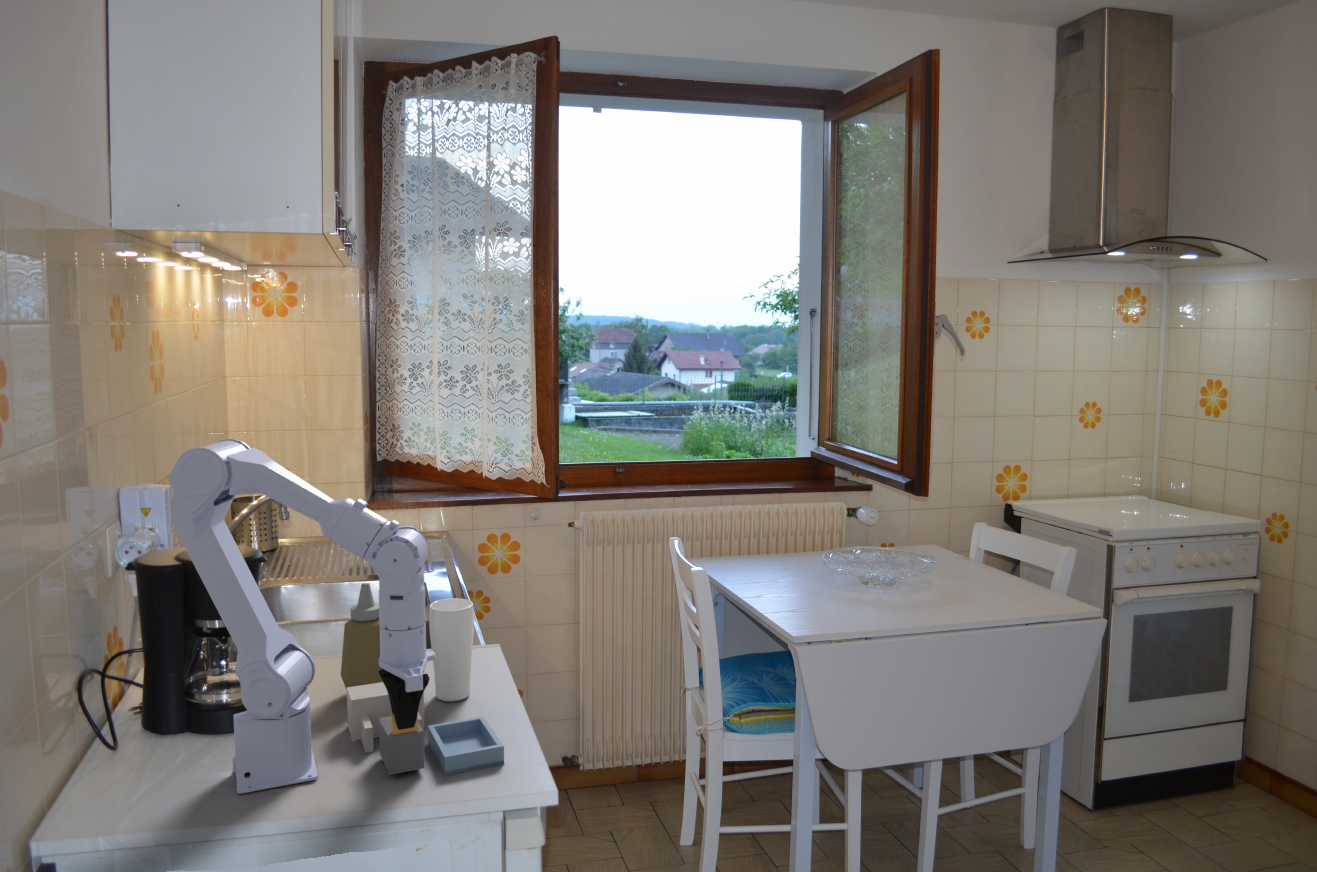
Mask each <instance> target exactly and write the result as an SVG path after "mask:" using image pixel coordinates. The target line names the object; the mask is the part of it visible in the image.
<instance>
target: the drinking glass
mask: <svg viewBox="0 0 1317 872" xmlns="http://www.w3.org/2000/svg"><path fill="white" fill-rule="evenodd" d="M474 613H475V612H474V603H473V601H471V600H469V599H466V598H458V597H456V598H454V597H451V598H449V597H448V598H443V599H438V600H436V601H433V602H431V603H430V604H429V614H428V615H429V617H428V618H429V622H428V623H429V636H430V637H429V638H430V647H431V651H434V653H435V654H436V659H435V660H432V666H433V675H434V688H435V689H434V692H435V694H434V695H435V696H436V698H437V699H438V700H440V701H442V702H445V703H446V702H448V703H449V702H450V703H452V702H453V701H455V702H460V701H462V700H463V701H464V699H466V698H468V697H469V695H470V693H471V673H472V671H471V668H472V658H473V647H474V645H473V644H474V632H475V631H474V627H475V616H474ZM453 703H454V702H453Z"/></svg>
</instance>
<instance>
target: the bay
mask: <svg viewBox="0 0 1317 872" xmlns="http://www.w3.org/2000/svg"><path fill="white" fill-rule="evenodd" d="M424 692H425V691H424ZM424 692H423V695H422V697H421V700H420V704H419V709H418V722H419V724H420V726H421V727H422V729H423V730H424V729H425V697H424V696H425V695H424V694H425V693H424ZM391 713H392V709H391V704H390V700H389V696H388V692H387V689H386V687H385V685H384V683H383V682H380V683H374V684H367V685H360V686H354V687H347V690H346V714H347V718H346V719H347V728H348V733H349V734H350V739H351V740H352V742H356V741H361V743H362V746H363V750H364V752H365V754H367V753H368V754H369V753H373V752H374V738H380V736H379V718H383V717H389V716H391Z"/></svg>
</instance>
